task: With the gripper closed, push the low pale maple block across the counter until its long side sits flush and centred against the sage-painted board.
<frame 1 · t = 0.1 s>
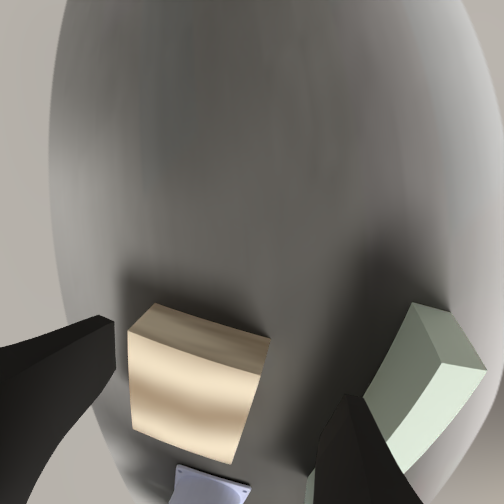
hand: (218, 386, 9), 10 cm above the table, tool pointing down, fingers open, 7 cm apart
maple block: (202, 373, 22), on the table
sage board: (369, 418, 20), on the table
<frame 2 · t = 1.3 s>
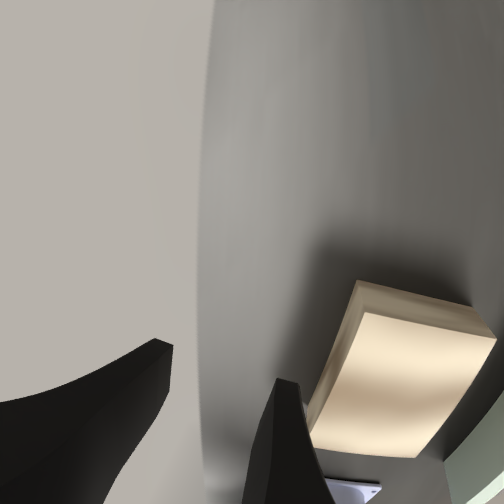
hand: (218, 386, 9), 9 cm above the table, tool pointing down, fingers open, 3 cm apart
maple block: (388, 360, 18), on the table
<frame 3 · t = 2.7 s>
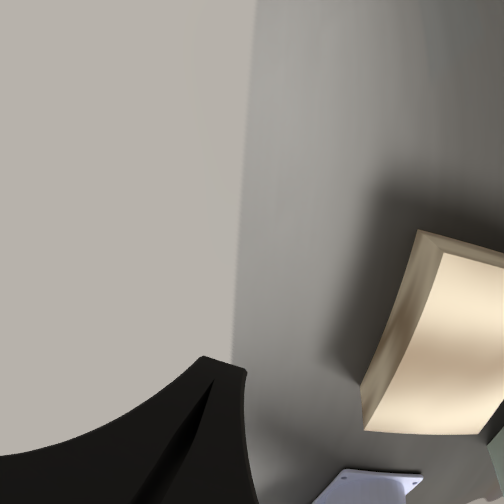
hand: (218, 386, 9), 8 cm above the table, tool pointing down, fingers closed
maple block: (447, 325, 16), on the table
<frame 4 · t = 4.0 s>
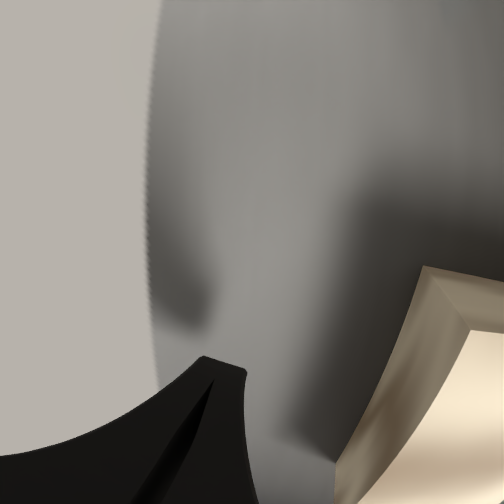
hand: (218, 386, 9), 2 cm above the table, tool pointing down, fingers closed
maple block: (459, 392, 10), on the table
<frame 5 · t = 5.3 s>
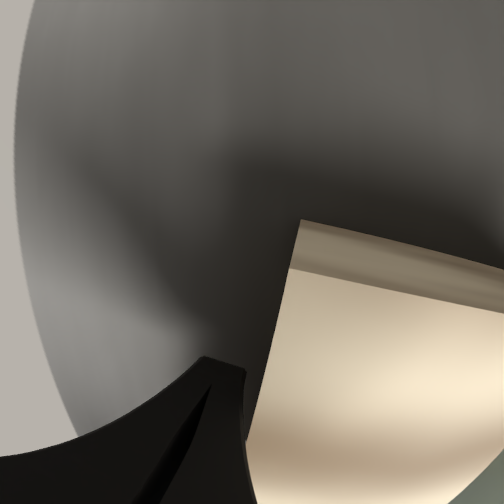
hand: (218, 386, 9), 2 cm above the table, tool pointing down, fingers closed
maple block: (377, 377, 10), on the table
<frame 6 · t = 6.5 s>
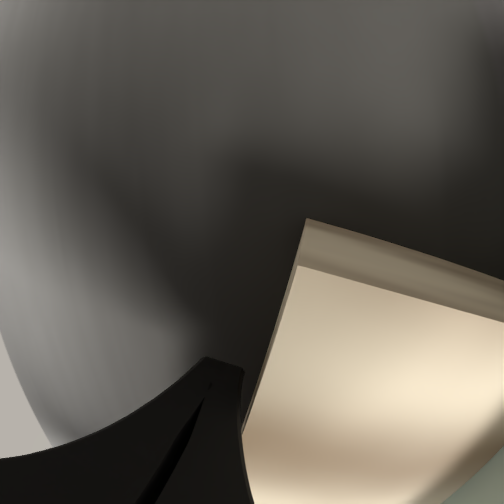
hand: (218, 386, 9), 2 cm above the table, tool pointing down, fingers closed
maple block: (371, 379, 10), on the table, touching gripper, sage board
sage board: (482, 400, 9), on the table
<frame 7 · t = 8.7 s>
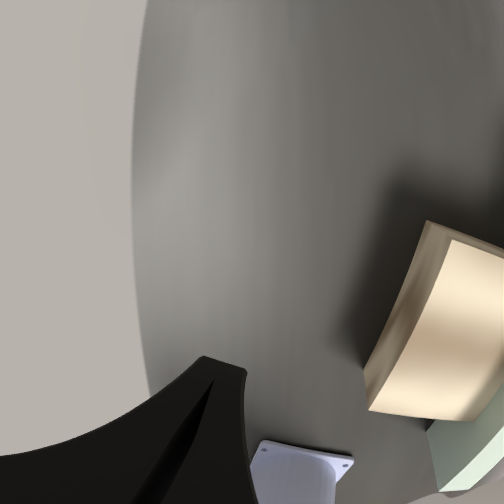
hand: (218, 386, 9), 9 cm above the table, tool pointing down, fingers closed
maple block: (448, 314, 17), on the table
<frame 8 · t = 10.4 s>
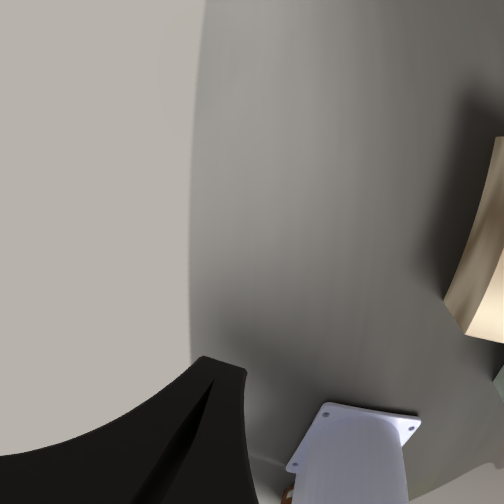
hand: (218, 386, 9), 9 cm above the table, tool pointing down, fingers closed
food container: (304, 499, 25), on the table, touching arm
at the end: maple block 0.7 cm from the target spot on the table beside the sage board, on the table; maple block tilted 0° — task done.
